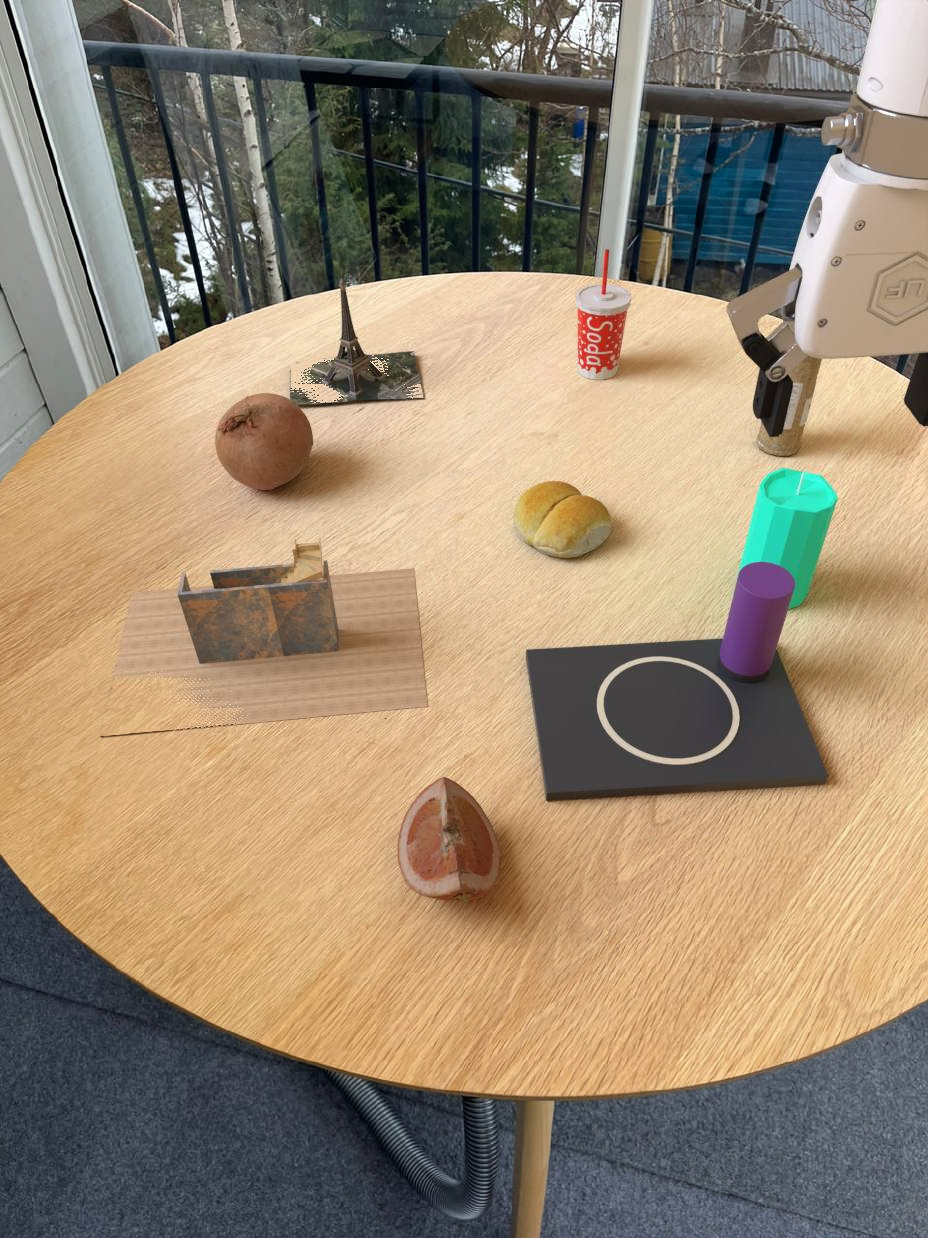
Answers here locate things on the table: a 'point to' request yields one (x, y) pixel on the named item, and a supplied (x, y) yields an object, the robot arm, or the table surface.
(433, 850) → the fruit slice
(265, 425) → the onion
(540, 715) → the sketch board
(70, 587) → the table surface
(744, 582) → the dot marker
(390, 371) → the eiffel tower figurine
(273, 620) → the ruin model on sheet
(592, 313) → the beverage cup
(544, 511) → the bread roll
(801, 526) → the candle
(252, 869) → the table surface
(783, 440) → the sprinkles bottle
